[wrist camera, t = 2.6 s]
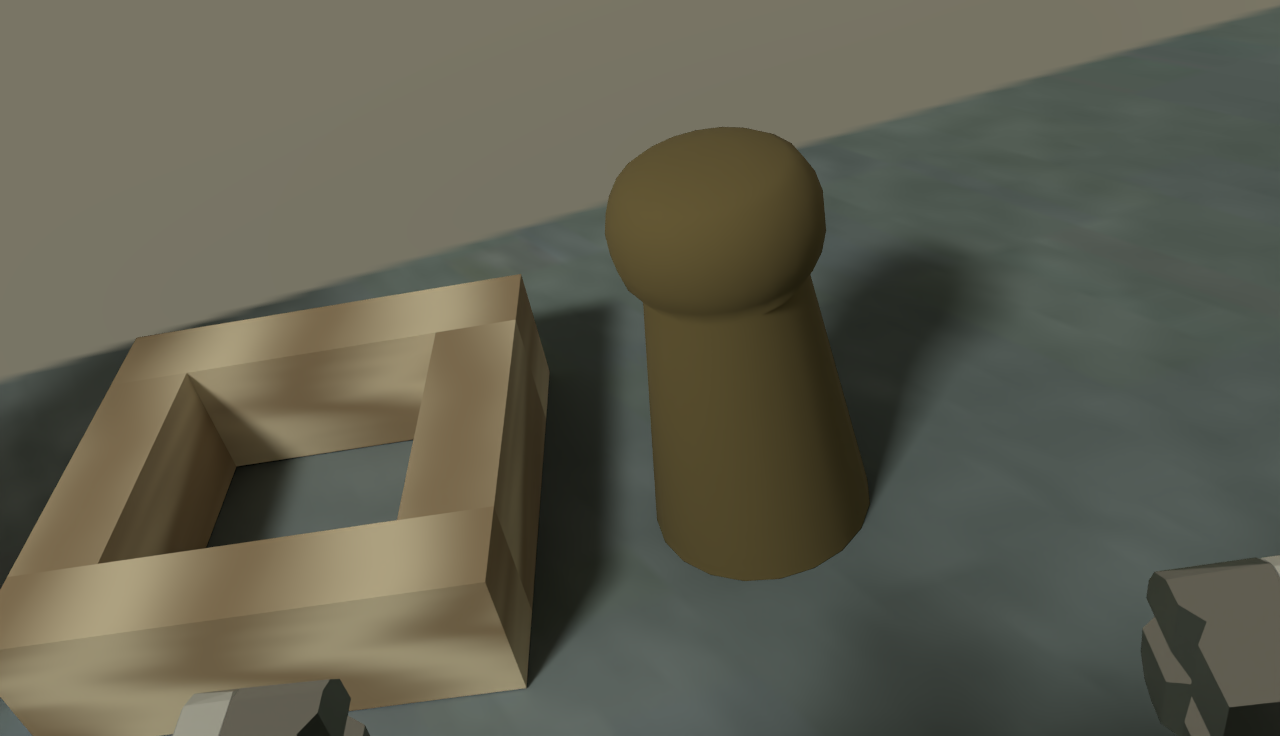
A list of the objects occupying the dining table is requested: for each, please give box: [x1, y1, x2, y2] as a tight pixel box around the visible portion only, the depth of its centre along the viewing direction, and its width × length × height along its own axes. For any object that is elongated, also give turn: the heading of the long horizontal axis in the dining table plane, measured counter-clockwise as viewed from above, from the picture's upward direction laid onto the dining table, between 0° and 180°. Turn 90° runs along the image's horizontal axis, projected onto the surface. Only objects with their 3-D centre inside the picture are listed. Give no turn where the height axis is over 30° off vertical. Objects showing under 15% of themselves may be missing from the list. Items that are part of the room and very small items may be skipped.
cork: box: [605, 127, 870, 581], centre depth 30 cm, size 6×6×11 cm
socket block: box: [0, 274, 550, 736], centre depth 35 cm, size 13×13×4 cm
